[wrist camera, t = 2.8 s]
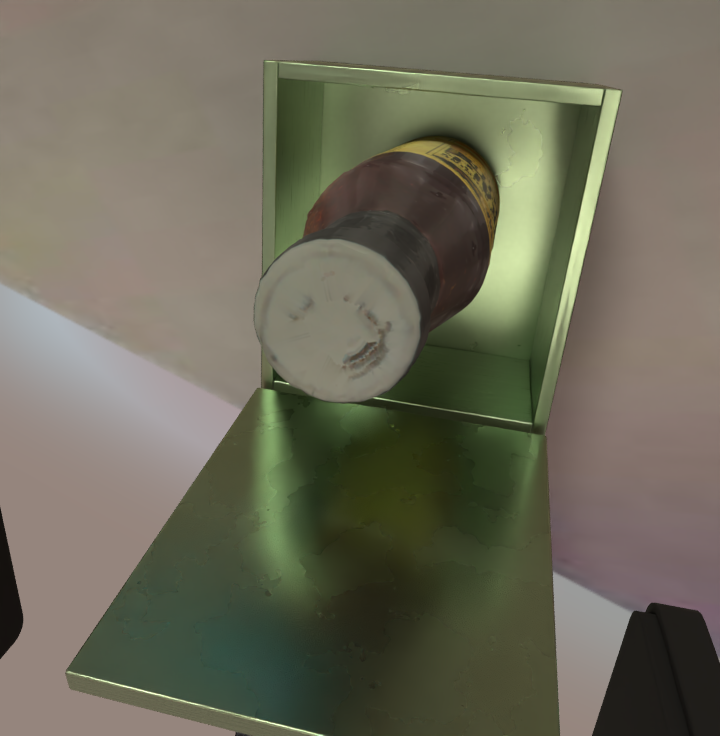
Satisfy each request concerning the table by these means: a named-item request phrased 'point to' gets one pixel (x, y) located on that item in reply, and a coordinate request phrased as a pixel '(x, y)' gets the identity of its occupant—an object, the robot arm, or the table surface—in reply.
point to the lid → (345, 582)
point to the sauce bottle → (379, 269)
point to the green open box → (514, 227)
